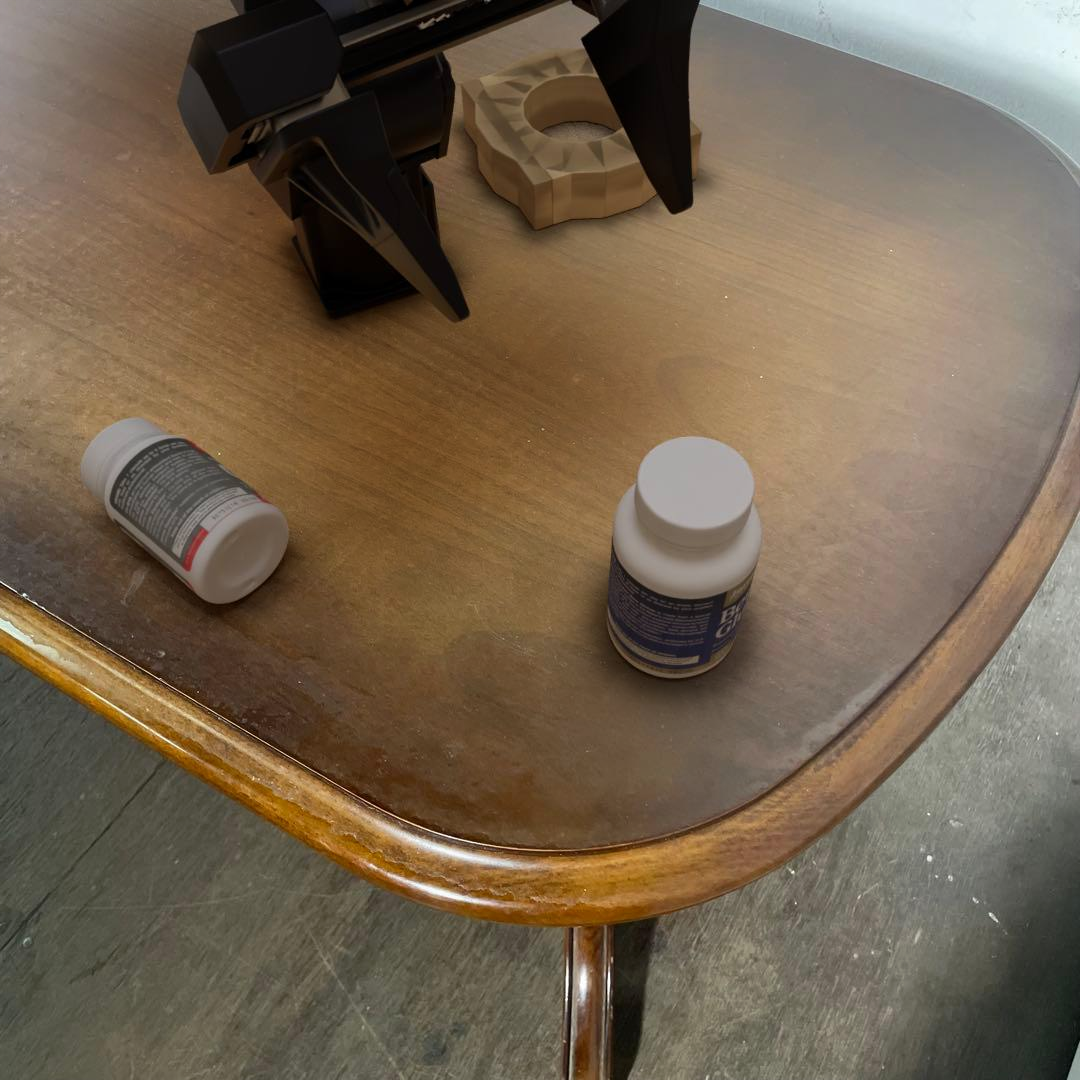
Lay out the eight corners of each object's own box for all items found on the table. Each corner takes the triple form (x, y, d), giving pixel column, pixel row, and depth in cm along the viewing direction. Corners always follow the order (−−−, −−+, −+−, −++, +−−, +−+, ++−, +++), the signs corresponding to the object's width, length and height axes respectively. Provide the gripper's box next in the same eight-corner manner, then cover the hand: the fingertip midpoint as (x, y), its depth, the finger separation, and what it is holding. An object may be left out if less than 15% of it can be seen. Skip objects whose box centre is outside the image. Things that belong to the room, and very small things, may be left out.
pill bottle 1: (294, 491, 43) (165, 391, 46) (196, 543, 40) (65, 432, 43) (291, 573, 46) (170, 474, 49) (201, 626, 43) (78, 518, 46)
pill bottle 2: (730, 693, 42) (769, 559, 34) (595, 669, 42) (602, 533, 34) (743, 579, 45) (782, 430, 37) (617, 558, 45) (628, 409, 37)
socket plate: (528, 242, 57) (526, 196, 54) (449, 126, 62) (444, 79, 60) (713, 182, 59) (720, 135, 57) (620, 75, 65) (622, 29, 62)
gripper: (62, -332, 22) (403, 368, 26) (758, -499, 27) (947, 97, 31) (72, -85, 32) (314, 387, 36) (576, -244, 37) (736, 180, 41)
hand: (576, 263), depth 36 cm, fingers open, 9 cm apart
